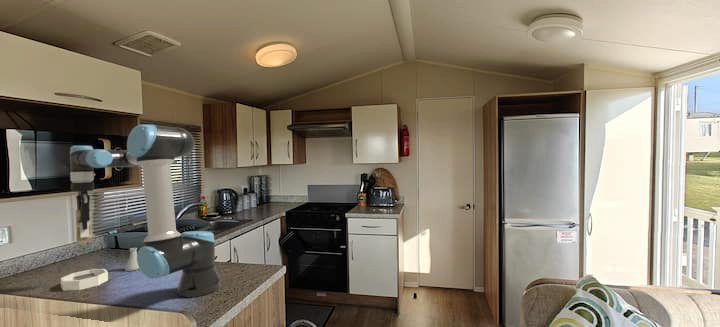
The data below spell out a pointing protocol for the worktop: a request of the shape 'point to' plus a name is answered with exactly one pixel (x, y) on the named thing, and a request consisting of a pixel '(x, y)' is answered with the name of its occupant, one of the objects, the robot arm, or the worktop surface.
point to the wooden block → (78, 218)
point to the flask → (132, 260)
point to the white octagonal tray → (84, 279)
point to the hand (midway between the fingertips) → (83, 236)
